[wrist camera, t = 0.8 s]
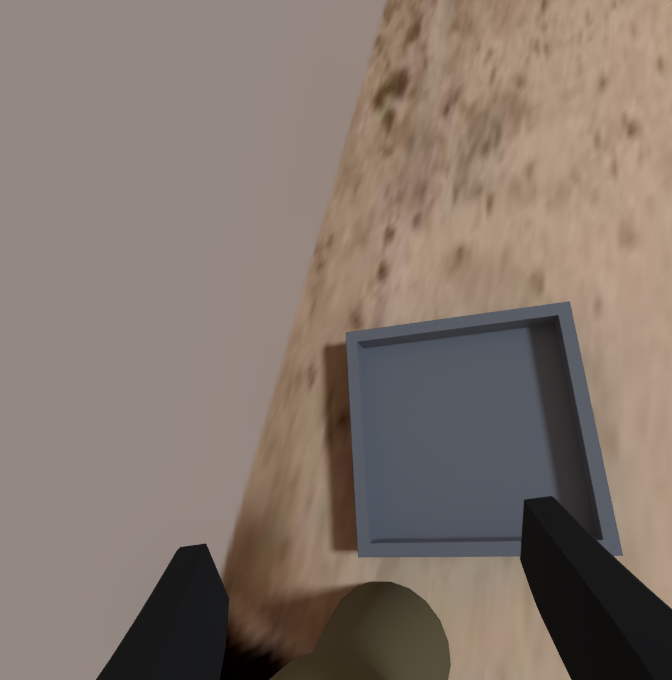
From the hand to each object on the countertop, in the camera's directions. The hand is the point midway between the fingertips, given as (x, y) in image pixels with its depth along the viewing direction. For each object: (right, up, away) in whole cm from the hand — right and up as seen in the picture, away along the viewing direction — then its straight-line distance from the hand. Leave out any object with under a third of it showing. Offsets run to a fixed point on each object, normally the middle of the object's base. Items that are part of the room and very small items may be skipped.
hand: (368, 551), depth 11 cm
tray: (+6, 0, +13) cm, 15 cm away
